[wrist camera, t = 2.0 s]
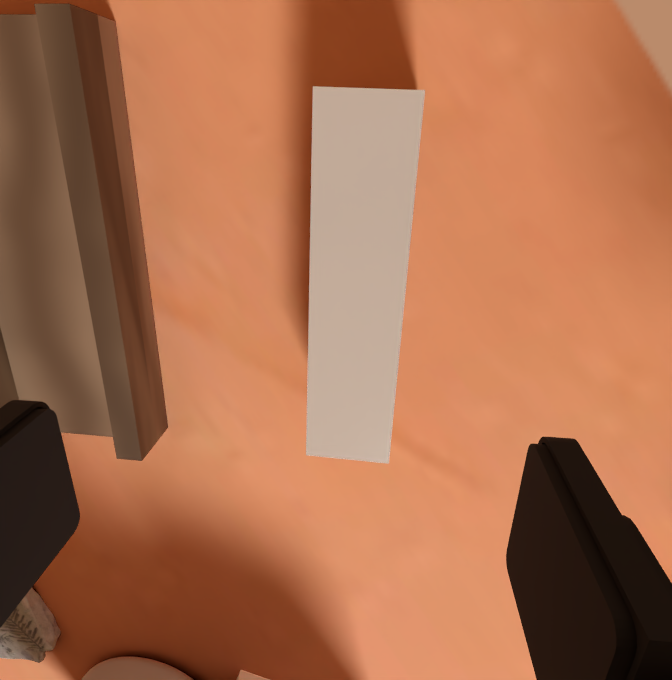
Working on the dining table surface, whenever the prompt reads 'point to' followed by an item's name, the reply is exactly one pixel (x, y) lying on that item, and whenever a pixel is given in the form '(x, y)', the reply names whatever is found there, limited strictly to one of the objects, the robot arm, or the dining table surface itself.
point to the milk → (249, 676)
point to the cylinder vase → (134, 670)
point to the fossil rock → (29, 630)
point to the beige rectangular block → (358, 264)
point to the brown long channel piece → (73, 233)
